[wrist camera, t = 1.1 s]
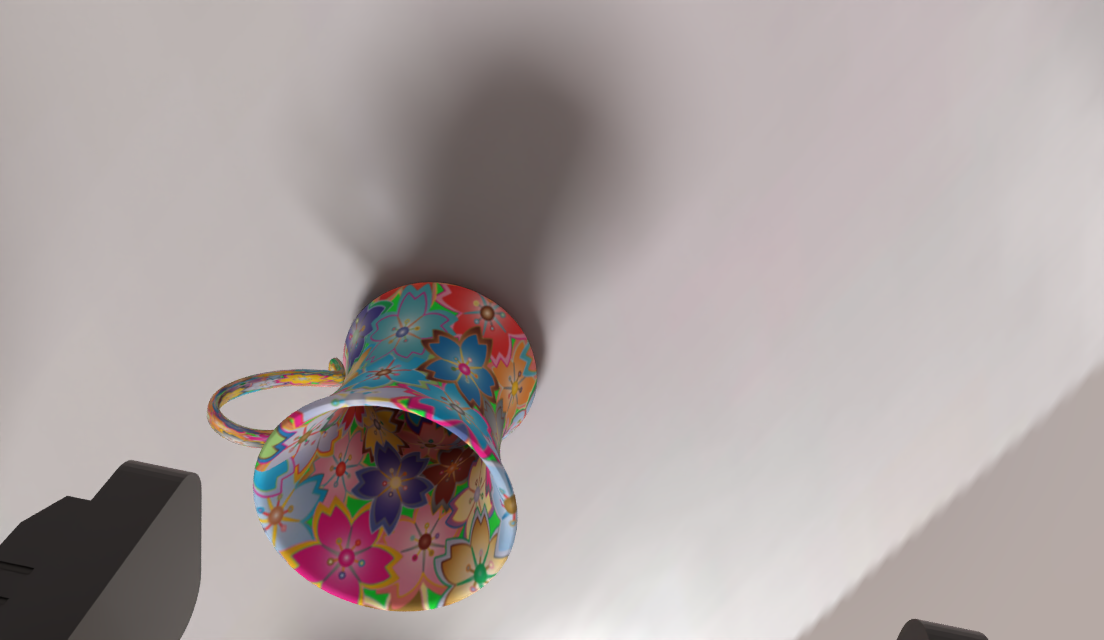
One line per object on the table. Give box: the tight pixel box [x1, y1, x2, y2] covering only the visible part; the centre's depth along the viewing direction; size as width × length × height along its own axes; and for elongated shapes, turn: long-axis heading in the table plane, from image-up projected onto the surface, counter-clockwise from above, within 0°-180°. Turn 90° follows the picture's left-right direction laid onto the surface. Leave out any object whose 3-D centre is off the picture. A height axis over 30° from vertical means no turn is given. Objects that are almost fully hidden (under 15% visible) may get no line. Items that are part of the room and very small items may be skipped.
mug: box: [207, 282, 537, 611], centre depth 38 cm, size 12×9×11 cm
